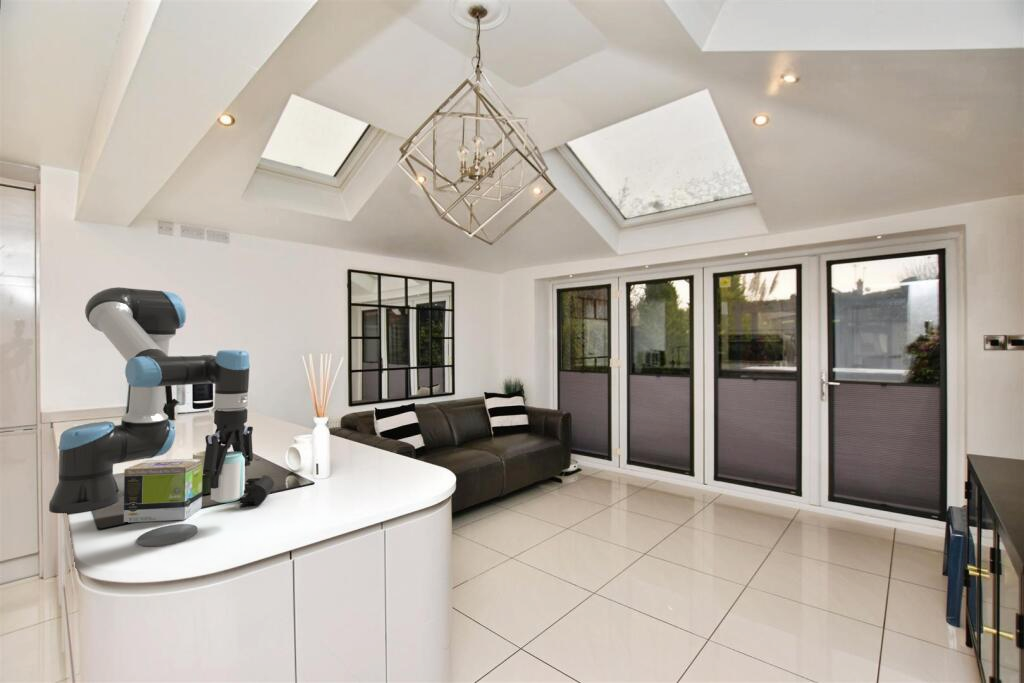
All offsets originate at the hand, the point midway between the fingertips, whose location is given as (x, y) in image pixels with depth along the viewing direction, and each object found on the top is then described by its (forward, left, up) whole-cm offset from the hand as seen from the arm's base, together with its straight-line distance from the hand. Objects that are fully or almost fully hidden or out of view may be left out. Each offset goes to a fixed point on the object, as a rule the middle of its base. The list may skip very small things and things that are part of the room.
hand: (228, 494), depth 120 cm
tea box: (-22, +3, -9) cm, 24 cm away
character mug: (-26, +21, -9) cm, 35 cm away
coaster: (-9, -8, -8) cm, 15 cm away
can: (0, 0, -1) cm, 1 cm away
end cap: (-5, +18, -9) cm, 21 cm away
